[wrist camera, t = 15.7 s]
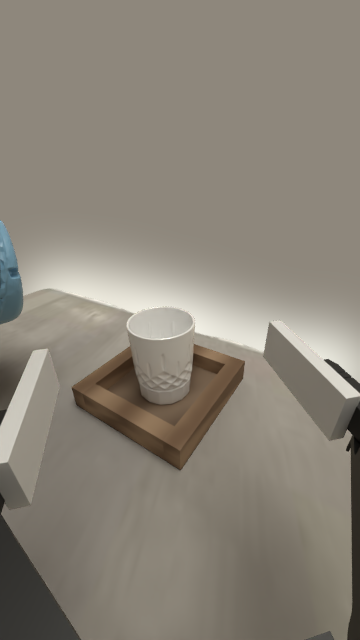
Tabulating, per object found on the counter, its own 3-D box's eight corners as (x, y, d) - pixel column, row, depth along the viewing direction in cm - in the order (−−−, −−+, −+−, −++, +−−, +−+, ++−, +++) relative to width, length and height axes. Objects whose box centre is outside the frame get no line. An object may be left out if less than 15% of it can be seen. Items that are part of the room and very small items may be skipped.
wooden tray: (76, 405, 35) (71, 387, 33) (154, 345, 46) (153, 330, 45) (180, 470, 27) (180, 450, 25) (242, 378, 38) (244, 361, 37)
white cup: (123, 386, 36) (113, 321, 31) (168, 360, 41) (164, 300, 36) (161, 420, 31) (155, 348, 26) (207, 386, 36) (209, 320, 31)
